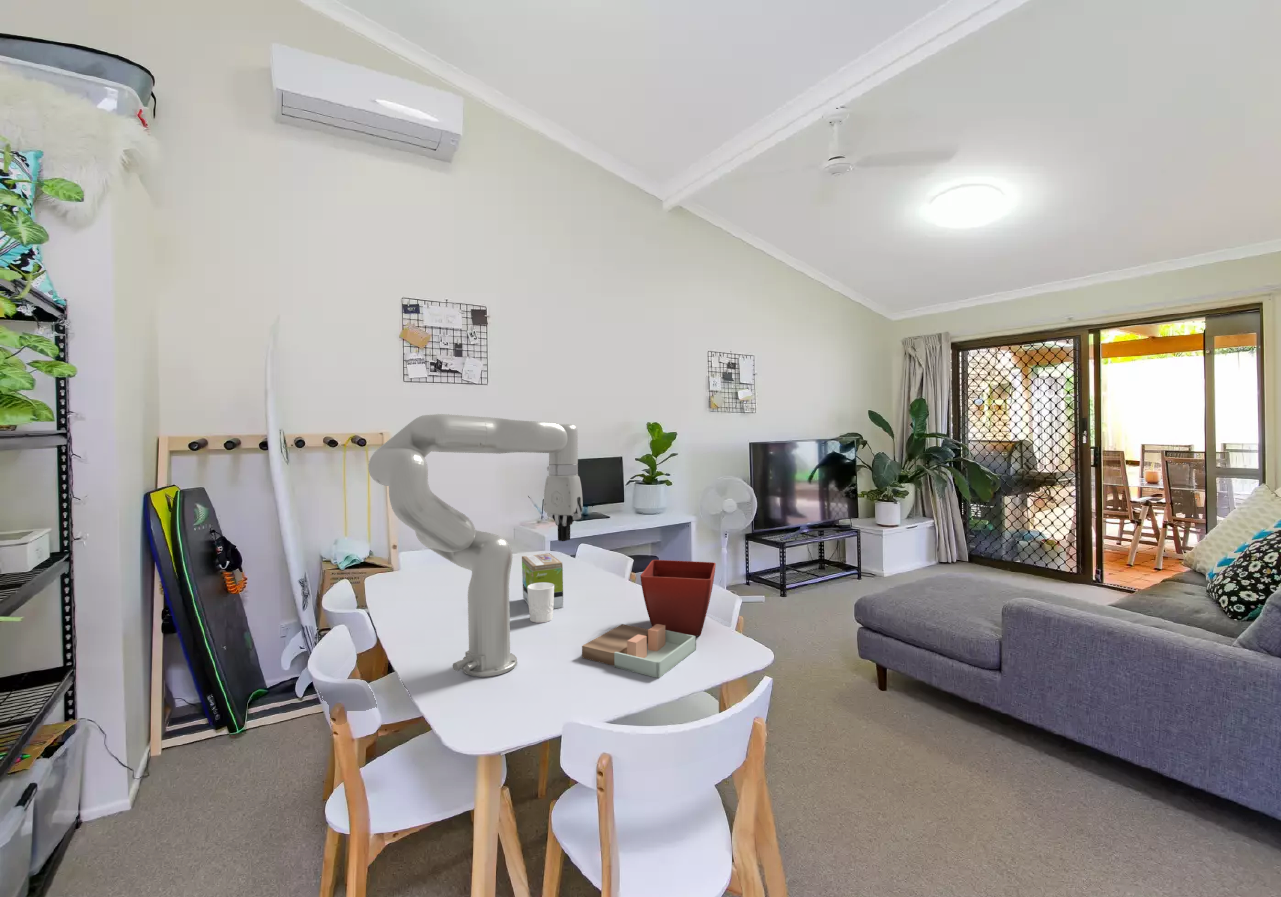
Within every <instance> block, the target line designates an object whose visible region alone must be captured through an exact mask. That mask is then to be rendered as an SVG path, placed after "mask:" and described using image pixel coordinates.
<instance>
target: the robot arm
mask: <svg viewBox="0 0 1281 897" xmlns="http://www.w3.org/2000/svg"><path fill="white" fill-rule="evenodd" d="M578 434H579V433H578V427H577V426H576V425H575V424H571V423H570V424H567V423H563V424H562V423H556V422H549V421H548V422H547V421H546V422H545V421H532V420H530V421H529V420H519V419H518V420H515V419H509V418H500V417H488V416H475V415H473V416H472V415H459V414H449V413H448V414H447V413H441V414H440V413H437V414H436V413H435V414H423V415H419V416H418V417H416V418H414V419H413V420H411V421H410V422H409V423H408V424H406V425H405V426H404V427H402V429H400V430H399V431H398V432H396V434H395V435H393V436H391V438H390V439H388V440H387V441H386V442H384V444H382V445H381V446H380V447H379V448H377V449H376V451H374V452H373V453H372V455H371V457H370V458H369V461H368V464H367V465H368V468H367V469H368V473H369V476H370V477H371V478H372V480H374V482H376V483H377V484H380V485H381V486H385V487H388V498H389V503H390V506H391V509H392V512H393V513H394V515H395V516H396V517H397V518H398V520H400V522H402V523H403V524H405V525H406V526H407V527H409V528H410V529H412V530H413V531H414V532H415V535H416V537H417V539H418V541H419V542H420V543H421V545H423V546H425V547H426V548H427V549H429V550H431V551H432V552H434V553H436V554H437V555H439V556H440V557H442V558H443V559H446V560H447V561H449V562H450V563H452V564H454V565H456V566H458V567H460V568H463V569H465V570H469V571H471V577H470V580H469V583H468V588H467V615H468V616H467V618H468V619H467V620H468V621H467V622H468V623H467V625H468V627H467V628H468V650H467V651H465V653H464V654H465V656H464V657H462V659H460V660H457V661H454V662H453V663H452V665H451V666H452V669H453V671H454V672H459V671H461V670H462V672H464V673H465V674H466V675H469V676H472V677H481V678H486V677H494V676H499V675H502V674H505V673H508V672H510V671H512V670H513V669H514V668H515V667H516V666H517V664H518V657H517V656H516V655H515V654H513V653H511V627H510V626H511V624H510V623H511V622H510V619H511V618H510V617H511V616H510V614H511V613H510V611H511V610H510V579H511V578H510V576H511V570H512V566H513V565H512V564H513V550H512V547H511V545H510V543H509V541H507V540H506V539H505V538H504V537H502V536H500V535H499V534H494V533H491V532H487V531H480V530H477V529H476V528H475V525H474V523H473V521H472V520H471V519H470V518H469V517H468V516H467V515H466V514H464V513H462V512H461V511H459V510H458V509H455V508H454V507H453V506H451V505H450V504H448V503H447V502H445V501H444V500H442V499H441V498H439V497H438V496H437V495H436V494H435V493H434V492H432V490H431V488H430V486H429V485H430V484H429V466H428V463H427V460H426V459H425V458H426V457H427V456H428V455H429V454H430V453H432V452H436V453H455V454H456V453H459V454H461V453H462V454H464V453H465V454H466V453H468V454H497V455H498V454H512V453H530V454H531V453H534V454H535V453H537V454H548V466H547V467H546V470H547V471H548V474H549V475H547V476H546V478H545V485H544V490H543V511H544V512H545V514H546V516H547V517H549V518H551V519H553V520H554V523H555V526H557V541H559V542H567V541H570V540H571V525H573V523H574V521H577V520H580V519H582V514H581V513H582V512H583V506H584V505H583V503H584V502H583V500H584V499H583V490H582V482H581V478H580V476H579V471H578V470H579V468H578V467H579V464H578V463H579V455H578V454H579V453H578V452H579V450H578V449H579V448H578V444H579V442H578V439H579V438H578Z"/></svg>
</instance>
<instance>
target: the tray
mask: <svg viewBox="0 0 1281 897" xmlns="http://www.w3.org/2000/svg"><path fill="white" fill-rule="evenodd" d="M665 641H666V645H664V646H663V647H662V648H661V649H659V650H658V651H653V650H648V644H647V657H645V658H641V657H636V656H632V655H628V654H624V653H619V652H614V662H615V666H614V668H616V669H620V670H625V671H628V672H631V673H636V674H641V675H645V676H648V677H652V678H656V679H660V678H661V677H663V676H664V675H665V674H666V673H668V672H669V671H671V670H672V669H673V668H675V666H677V665H678V664H680V663H681V662H682V661H684V660H685V659H687V657H688V656H690V655H691V654H693V653H694V652H695V651H697V636H693V635H688V634H683V633H678V632H673V631H668V630H665Z"/></svg>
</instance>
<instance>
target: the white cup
mask: <svg viewBox="0 0 1281 897" xmlns="http://www.w3.org/2000/svg"><path fill="white" fill-rule="evenodd" d="M527 590H528V604H529V605H528V604H527V605H528V612H529V621H530V622H532V623H537V624H538V623H540V624H542V623H547V622H551V621H552V620H553V619H554V618H553V617H554V616H553V615H554V609H553V606H554V584H552V583H546V582H541V583H533V584H530V585H528V586H527Z"/></svg>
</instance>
